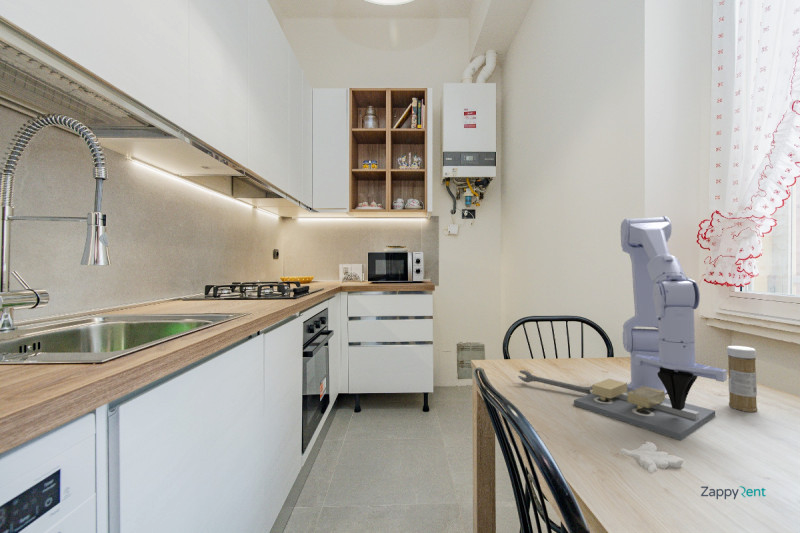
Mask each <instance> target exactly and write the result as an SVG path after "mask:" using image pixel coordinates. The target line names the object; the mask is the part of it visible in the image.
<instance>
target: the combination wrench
mask: <svg viewBox="0 0 800 533" xmlns="http://www.w3.org/2000/svg"><path fill="white" fill-rule="evenodd" d="M518 372H519V373H520V374H522V375H525V377H524V376H522V375H518V376H517V377H518V378H519V379H520V380H521V381H523V382H525V383H531V382H537V383H542V384H546V385H548V386H549V385H550V386H553V387H554V386H555V387H558V388H562V389H565V390H569V391H570V390H571V391H575V392H578V393H583V394H585V395H588V394H591V393H592V386H591V385H590V386H581V385H576V384H572V383H567V382H562V381H557V380H553V379H550V378H544V377H539V376H536V375H533V374H532V373H531V372H530V371H528V370H519V371H518Z"/></svg>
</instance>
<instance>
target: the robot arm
mask: <svg viewBox="0 0 800 533" xmlns="http://www.w3.org/2000/svg"><path fill="white" fill-rule="evenodd" d="M671 222H672V221H671V220H670V218H669V217H668V216H666V215H663V216H660V217H657V216H656V217H643V218H642V217H641V218H624V219H623V220H622V221H621V223H620V245H621V248H622V249H621V250H622V252H624V253H627V254H628V255H629V257H630V262H631V275H632V288H633V291H632V292H633V304H634V315H633V316H632V317H630V318H629V319H627V320H625V322H624V323H623V326H622V328H623V330H622V345H623V348H624V350H625V351H626V352H627V353H629V355H630V383H627V388H628V389H632V390H635V389H637V388H640V387H642V386H646V387H650V388H654V389H659V390H663V391H665V395H666V394H667V395H668V399H670V402H671V405H672V408H673V409H677V410H682V409H684V406H685V403H686V401H687V398H688V395H689V394H690V393H689V392H690V390H691V388H692V386H693V385H694V383H695V382H696V380H697V379H698V377H701V378H706V379H710V380H715V381H717V382H722V383H724V382H726V381H728V380H727V379H728V378H727V377H728V373H727V372H728V371H727V370H728V369H724V368H720V367H715V366H711V365H706V364H702V363H697V362H696V337H695V330H696V329H695V310H696V309H698V307H699V305H700V301H701V300H700V299H701V297H700V295H701V294H700V289H699V286H698V283H697V281H696V280H694V279H692V278H691V277H687V276H686V273H685V271H684V269H683V266H682V265H681V262H680V260H679V259H678V258H677V256H674V255H672V254H670V251H669V246H668V242H669V239H670V238H671V236H672V229H673V228H672V223H671ZM637 327H639V328H637ZM654 328H655V329H654Z"/></svg>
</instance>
